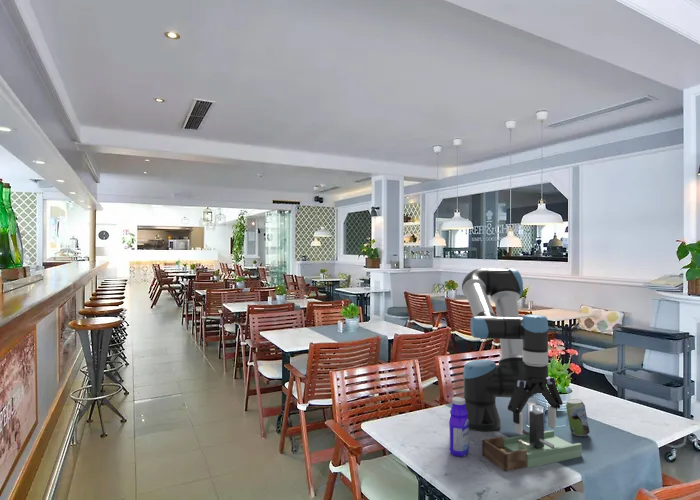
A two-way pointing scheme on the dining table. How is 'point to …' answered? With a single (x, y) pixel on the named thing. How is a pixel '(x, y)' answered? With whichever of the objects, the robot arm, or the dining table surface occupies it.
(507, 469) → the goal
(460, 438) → the bottle
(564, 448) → the pitch
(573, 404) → the beverage can
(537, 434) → the kicker
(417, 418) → the dining table surface
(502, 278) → the robot arm
